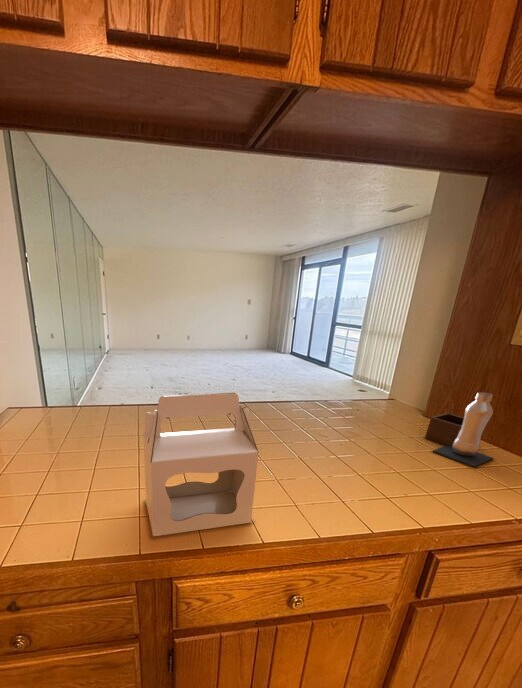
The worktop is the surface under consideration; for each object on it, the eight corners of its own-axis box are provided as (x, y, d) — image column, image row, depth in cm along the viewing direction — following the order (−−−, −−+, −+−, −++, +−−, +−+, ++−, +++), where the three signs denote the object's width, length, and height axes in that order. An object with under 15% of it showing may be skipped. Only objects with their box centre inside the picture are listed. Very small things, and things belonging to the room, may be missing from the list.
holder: (440, 433, 128) (447, 412, 125) (469, 442, 121) (477, 421, 118) (424, 438, 124) (431, 417, 120) (453, 448, 116) (461, 426, 113)
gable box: (232, 491, 88) (240, 383, 77) (252, 522, 76) (265, 401, 65) (144, 501, 83) (140, 388, 72) (151, 537, 71) (147, 408, 60)
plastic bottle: (450, 447, 115) (470, 389, 107) (475, 453, 111) (498, 393, 103) (449, 454, 110) (470, 394, 102) (476, 460, 106) (500, 398, 99)
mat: (451, 445, 118) (452, 443, 118) (492, 459, 109) (493, 457, 109) (432, 452, 113) (432, 450, 113) (474, 467, 103) (474, 466, 103)
